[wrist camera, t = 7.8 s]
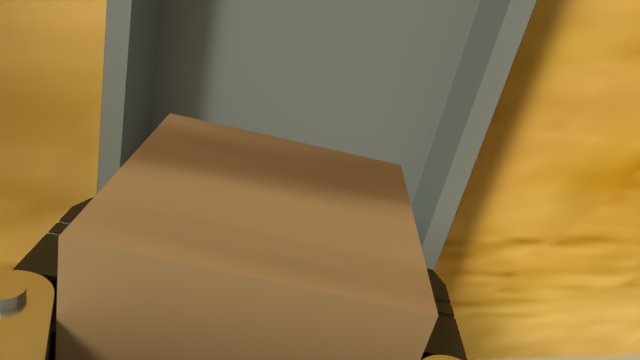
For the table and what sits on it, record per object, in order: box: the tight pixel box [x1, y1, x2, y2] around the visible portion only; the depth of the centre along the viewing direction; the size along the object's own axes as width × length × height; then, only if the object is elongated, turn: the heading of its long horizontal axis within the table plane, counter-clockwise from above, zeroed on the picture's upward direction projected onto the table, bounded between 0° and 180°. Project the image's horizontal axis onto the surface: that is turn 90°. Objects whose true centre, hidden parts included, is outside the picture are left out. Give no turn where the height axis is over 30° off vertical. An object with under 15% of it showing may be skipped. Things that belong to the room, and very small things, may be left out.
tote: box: [97, 0, 536, 270], centre depth 20 cm, size 18×14×4 cm
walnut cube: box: [55, 113, 438, 360], centre depth 10 cm, size 5×5×5 cm
